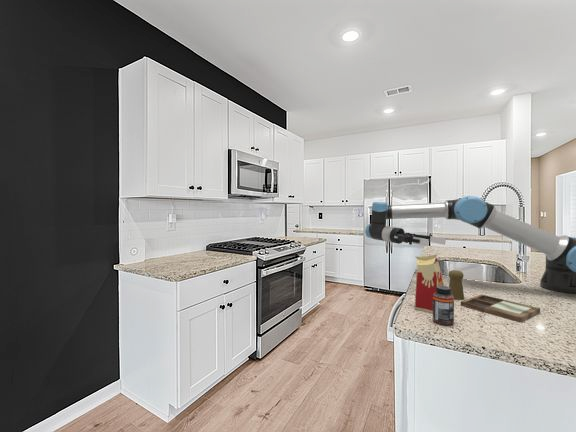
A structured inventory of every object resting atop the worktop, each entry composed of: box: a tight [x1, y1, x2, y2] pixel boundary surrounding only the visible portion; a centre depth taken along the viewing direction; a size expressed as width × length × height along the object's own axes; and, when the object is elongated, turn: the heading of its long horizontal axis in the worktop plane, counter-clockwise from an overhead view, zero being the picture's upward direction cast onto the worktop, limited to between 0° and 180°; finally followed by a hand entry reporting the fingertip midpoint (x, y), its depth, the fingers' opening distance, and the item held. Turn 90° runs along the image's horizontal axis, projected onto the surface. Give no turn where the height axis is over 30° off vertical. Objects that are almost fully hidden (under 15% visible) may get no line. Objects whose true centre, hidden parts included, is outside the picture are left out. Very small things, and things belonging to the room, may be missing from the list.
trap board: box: [460, 294, 541, 323], centre depth 104 cm, size 16×18×2 cm
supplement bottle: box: [432, 285, 455, 326], centre depth 92 cm, size 6×6×11 cm
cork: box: [448, 269, 465, 301], centre depth 116 cm, size 6×6×11 cm
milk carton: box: [414, 253, 445, 314], centre depth 104 cm, size 9×9×20 cm
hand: (436, 242), depth 123 cm, fingers open, 13 cm apart
